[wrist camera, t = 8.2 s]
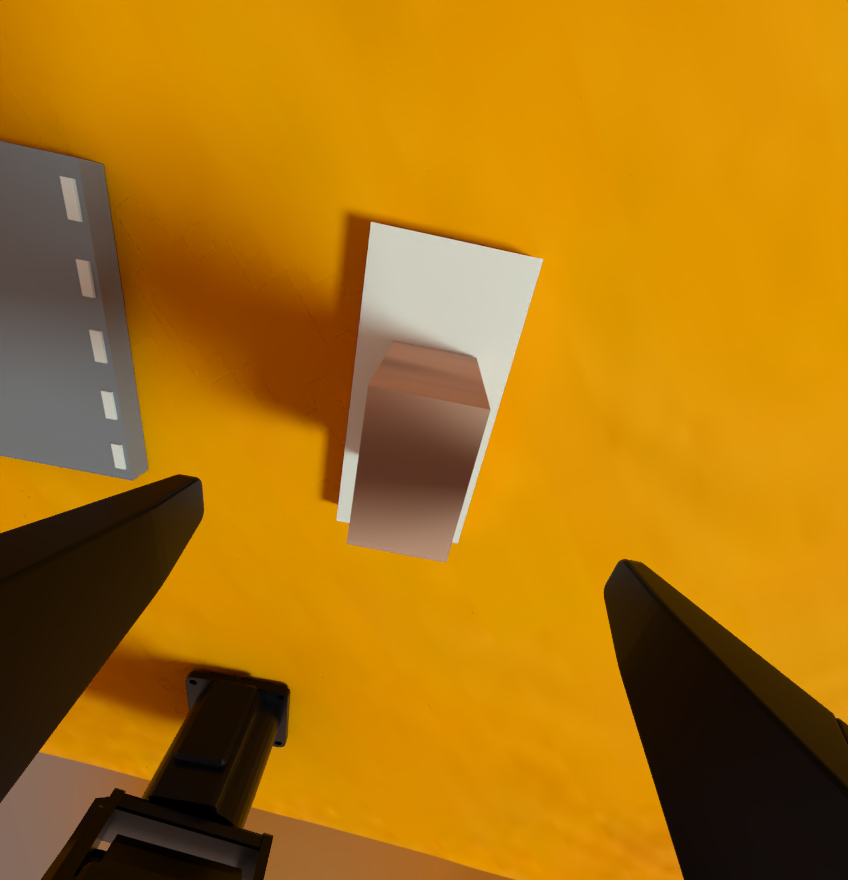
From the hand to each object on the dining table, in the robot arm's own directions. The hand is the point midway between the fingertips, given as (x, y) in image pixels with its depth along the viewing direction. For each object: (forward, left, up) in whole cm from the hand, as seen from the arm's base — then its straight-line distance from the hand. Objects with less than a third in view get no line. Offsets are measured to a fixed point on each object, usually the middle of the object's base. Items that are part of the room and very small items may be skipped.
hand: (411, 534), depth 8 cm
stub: (0, 0, -8) cm, 8 cm away
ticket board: (0, +18, -8) cm, 20 cm away
